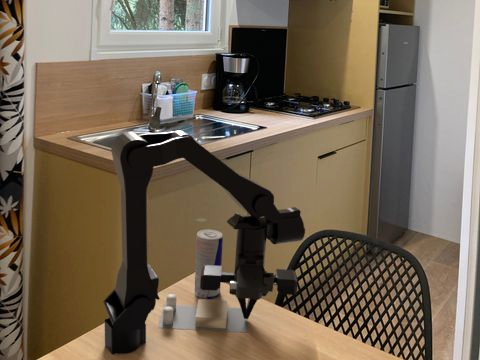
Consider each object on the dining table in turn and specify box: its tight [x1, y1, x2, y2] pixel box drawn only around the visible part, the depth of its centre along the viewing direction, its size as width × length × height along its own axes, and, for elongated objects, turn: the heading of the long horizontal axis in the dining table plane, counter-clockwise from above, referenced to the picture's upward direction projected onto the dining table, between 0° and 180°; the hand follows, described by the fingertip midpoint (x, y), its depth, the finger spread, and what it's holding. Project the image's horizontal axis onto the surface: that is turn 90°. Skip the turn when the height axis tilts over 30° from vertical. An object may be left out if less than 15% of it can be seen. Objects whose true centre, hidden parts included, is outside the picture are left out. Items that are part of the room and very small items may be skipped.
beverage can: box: [194, 229, 224, 300], centre depth 117 cm, size 6×6×15 cm
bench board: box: [157, 293, 248, 333], centre depth 108 cm, size 17×9×4 cm, turn 90°
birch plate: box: [195, 298, 228, 328], centre depth 108 cm, size 6×7×2 cm
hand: (246, 317), depth 108 cm, fingers closed
